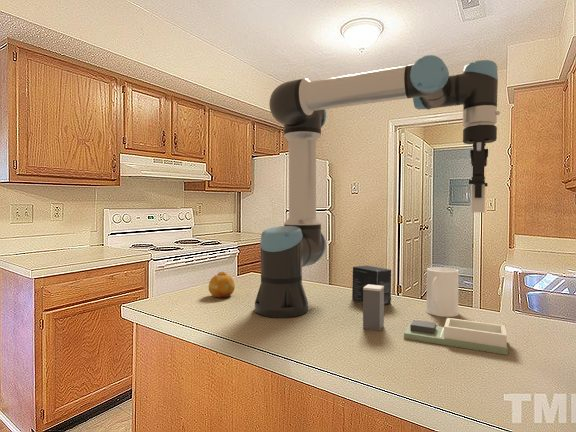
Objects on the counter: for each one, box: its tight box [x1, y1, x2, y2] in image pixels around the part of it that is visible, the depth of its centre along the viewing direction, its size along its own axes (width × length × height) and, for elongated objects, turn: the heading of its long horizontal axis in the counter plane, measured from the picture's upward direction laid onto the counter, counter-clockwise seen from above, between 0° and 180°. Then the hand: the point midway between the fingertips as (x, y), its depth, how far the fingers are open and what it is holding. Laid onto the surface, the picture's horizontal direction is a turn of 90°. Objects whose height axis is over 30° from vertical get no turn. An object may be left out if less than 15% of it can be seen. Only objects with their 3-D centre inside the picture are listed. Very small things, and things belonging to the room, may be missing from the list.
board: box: [403, 319, 509, 356], centre depth 82 cm, size 20×8×3 cm, turn 62°
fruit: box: [208, 271, 236, 298], centre depth 121 cm, size 8×8×8 cm
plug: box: [362, 284, 385, 332], centre depth 90 cm, size 4×4×10 cm
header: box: [443, 317, 508, 348], centre depth 80 cm, size 12×7×2 cm, turn 62°
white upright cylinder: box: [425, 266, 460, 318], centre depth 101 cm, size 12×8×12 cm
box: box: [351, 265, 392, 306], centre depth 114 cm, size 11×7×10 cm, turn 34°
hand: (478, 211), depth 93 cm, fingers open, 13 cm apart
